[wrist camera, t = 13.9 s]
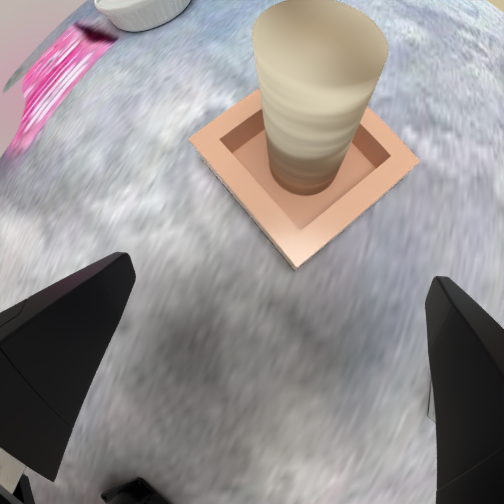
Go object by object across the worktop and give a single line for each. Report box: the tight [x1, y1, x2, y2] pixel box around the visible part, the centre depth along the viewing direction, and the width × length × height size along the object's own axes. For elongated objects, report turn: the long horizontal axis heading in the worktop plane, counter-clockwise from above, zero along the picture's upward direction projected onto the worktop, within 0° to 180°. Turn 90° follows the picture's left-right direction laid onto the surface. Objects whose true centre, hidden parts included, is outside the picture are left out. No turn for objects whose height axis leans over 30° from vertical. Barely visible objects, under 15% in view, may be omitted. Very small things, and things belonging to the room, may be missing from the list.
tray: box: [189, 89, 420, 271], centre depth 21 cm, size 11×11×4 cm
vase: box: [252, 0, 388, 196], centre depth 15 cm, size 5×5×13 cm
